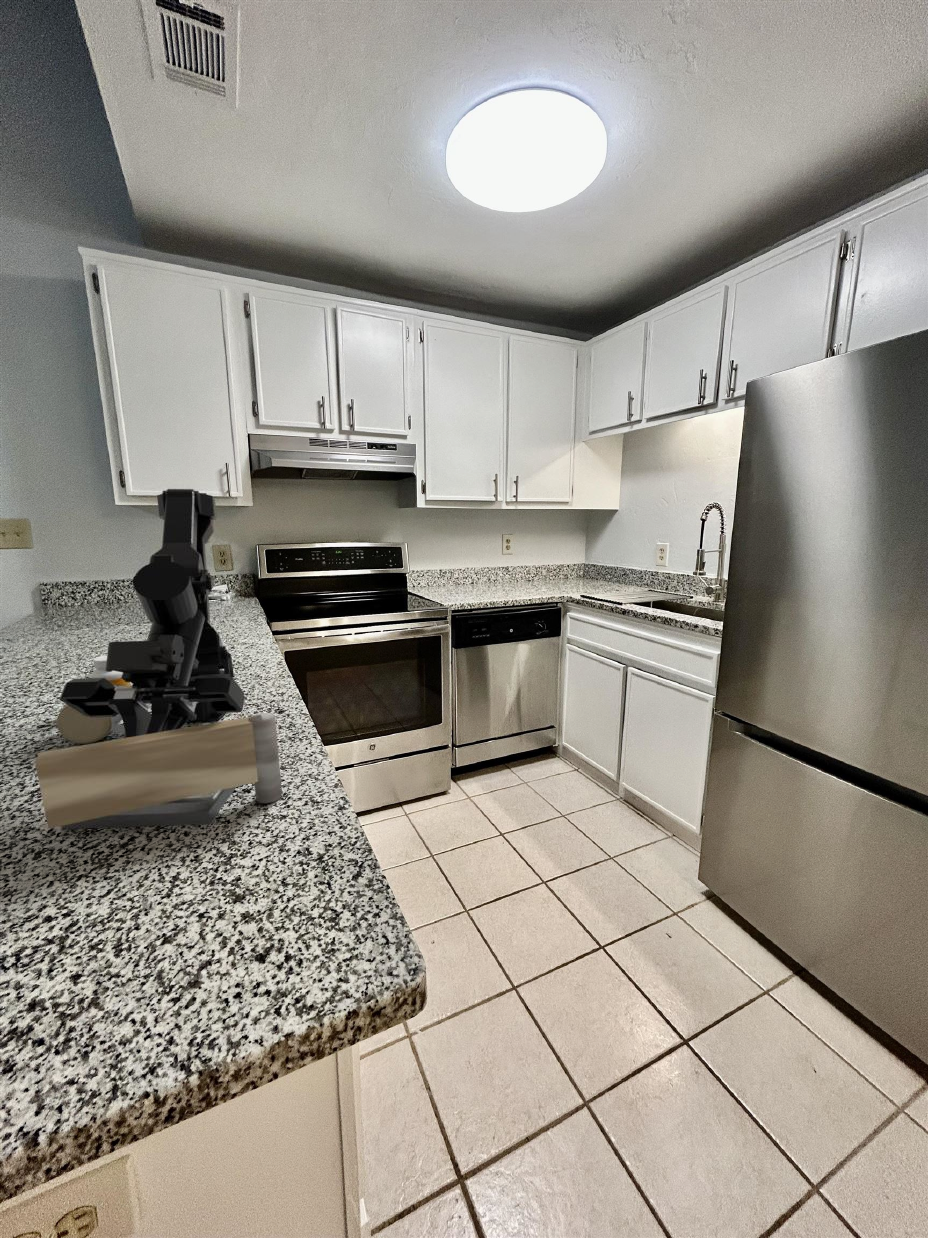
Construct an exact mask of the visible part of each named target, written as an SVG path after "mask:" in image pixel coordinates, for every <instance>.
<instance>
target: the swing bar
mask: <svg viewBox="0 0 928 1238" xmlns="http://www.w3.org/2000/svg"><path fill="white" fill-rule="evenodd" d="M278 743H279V742H278V734H277V723H276V714H274V713H272V712H261V713H255V714H252V715H251V716H245V717H241V718H233V719H228V720H222V721H218V722H217V721H216V722H212V723H211V722H210V723H205V724H199V725H195V726H194V725H192V726H188V727H181V728H180V729H175V730H169V731H163V732H158V733H152V734H146V735H140V736H134V737H129V738H126V737H123V738H119V739H112V740H107V741H100V742H96V743H95V742H94V743H89V744H81V745H78V746H77V745H76V746H71V747H66V748H60V749H54V750H48V751H43V752H39V754H38V756H37V757H36V759H35V760H34V765H35V769H36V775H37V778H38V783H39V788H40V793H41V799H42V803H43V804H42V805H43V808H44V809H43V810H44V815H45V820H46V824H47V829H48V830H51V829H55V828H58V827H62V826H64V825H68V824H73V823H77V822H81V821H86V820H90V819H95V818H99V817H104V816H108V815H112V814H117V813H121V812H126V811H130V810H134V809H139V808H143V807H148V806H152V805H157V804H161V803H165V802H170V801H174V800H179V799H183V798H188V797H192V796H196V795H201V794H205V793H210V792H214V791H219V790H223V789H227V788H232V787H236V786H237V787H240V786H244V785H249V784H253V785H254V791H255V793H254V794H255V801H256V802H258V803H259V804H268V803H270V804H271V803H274V802H277V800H279V799H281V798H282V796H283V789H282V779H281V767H280V755H279V745H278ZM237 787H236V788H237Z"/></svg>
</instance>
